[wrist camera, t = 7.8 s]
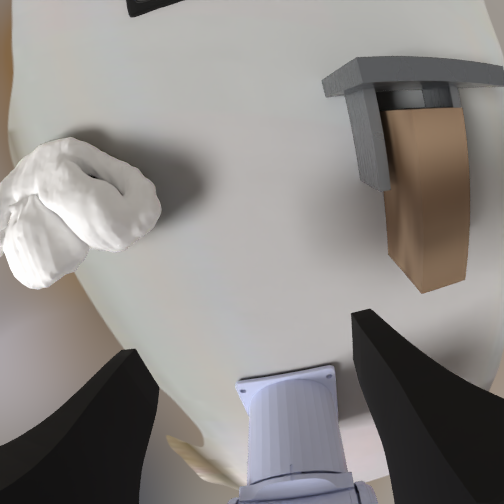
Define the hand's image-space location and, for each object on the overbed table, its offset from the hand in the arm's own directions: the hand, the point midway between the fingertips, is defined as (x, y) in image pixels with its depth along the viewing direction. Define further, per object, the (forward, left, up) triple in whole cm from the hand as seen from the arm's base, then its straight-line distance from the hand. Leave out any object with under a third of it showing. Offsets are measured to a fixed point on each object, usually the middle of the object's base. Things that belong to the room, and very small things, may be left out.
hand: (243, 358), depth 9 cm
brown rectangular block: (+2, -10, -10) cm, 14 cm away
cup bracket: (+5, -10, -9) cm, 15 cm away
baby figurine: (+6, +10, -10) cm, 15 cm away
